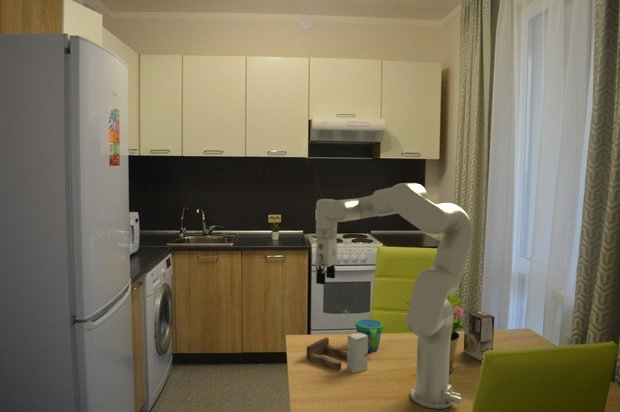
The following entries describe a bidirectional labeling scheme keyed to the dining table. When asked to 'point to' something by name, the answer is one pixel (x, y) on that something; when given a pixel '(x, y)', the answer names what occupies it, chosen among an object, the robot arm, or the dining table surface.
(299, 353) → the dining table surface
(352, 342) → the skincare box
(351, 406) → the dining table surface
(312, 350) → the u rest
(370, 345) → the snack cup
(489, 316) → the coffee box
